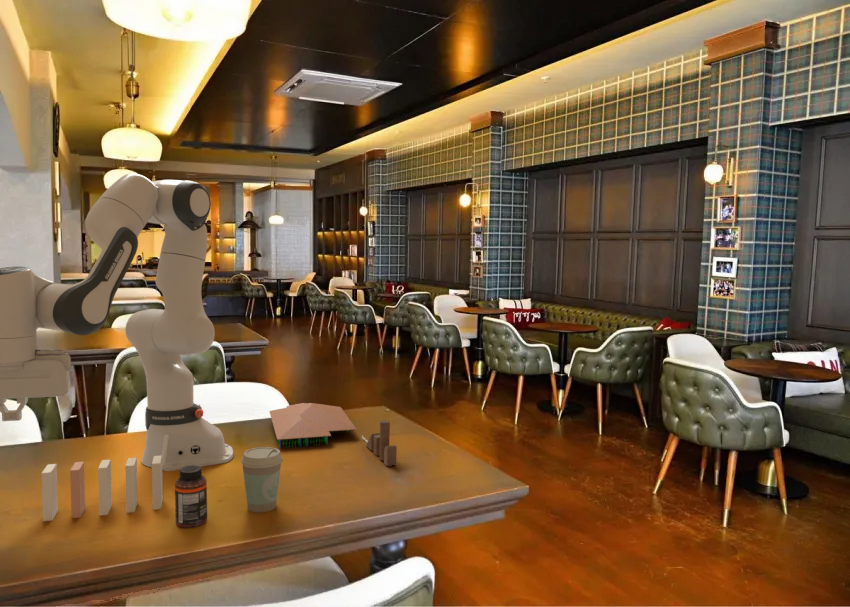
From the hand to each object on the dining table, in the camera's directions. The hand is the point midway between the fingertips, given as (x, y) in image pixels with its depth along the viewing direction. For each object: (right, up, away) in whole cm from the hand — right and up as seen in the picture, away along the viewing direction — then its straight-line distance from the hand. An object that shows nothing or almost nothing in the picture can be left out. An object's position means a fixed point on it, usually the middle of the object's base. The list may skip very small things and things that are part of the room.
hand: (12, 420), depth 122 cm
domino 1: (+10, -20, +6) cm, 23 cm away
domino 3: (+19, -20, +9) cm, 29 cm away
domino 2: (+15, -20, +7) cm, 26 cm away
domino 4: (+24, -20, +10) cm, 33 cm away
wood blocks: (+68, -18, +49) cm, 85 cm away
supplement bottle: (+34, -21, +2) cm, 40 cm away
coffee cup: (+46, -21, +11) cm, 52 cm away
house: (+46, -16, +68) cm, 83 cm away
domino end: (+5, -20, +4) cm, 21 cm away
